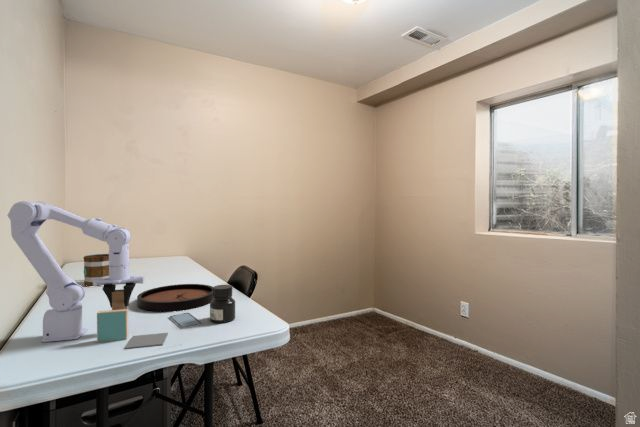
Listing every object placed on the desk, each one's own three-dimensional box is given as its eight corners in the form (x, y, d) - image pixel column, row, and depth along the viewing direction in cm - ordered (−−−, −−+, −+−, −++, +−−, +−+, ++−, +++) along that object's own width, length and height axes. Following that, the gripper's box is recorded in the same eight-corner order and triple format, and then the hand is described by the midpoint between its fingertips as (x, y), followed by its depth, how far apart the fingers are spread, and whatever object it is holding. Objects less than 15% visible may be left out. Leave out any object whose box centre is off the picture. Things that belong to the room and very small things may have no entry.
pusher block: (115, 310, 109) (115, 289, 109) (126, 309, 110) (126, 289, 110) (112, 314, 106) (111, 292, 106) (123, 313, 107) (123, 291, 107)
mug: (117, 283, 174) (117, 255, 174) (86, 288, 165) (86, 258, 164) (107, 278, 188) (107, 252, 188) (78, 282, 178) (78, 254, 178)
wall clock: (145, 286, 154) (215, 281, 164) (145, 295, 154) (215, 290, 164) (128, 305, 124) (215, 298, 134) (128, 316, 124) (215, 308, 134)
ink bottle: (206, 318, 121) (206, 285, 121) (229, 313, 127) (229, 282, 127) (215, 325, 114) (215, 291, 113) (239, 320, 119) (239, 287, 119)
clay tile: (96, 342, 100) (96, 313, 99) (99, 339, 102) (99, 311, 101) (126, 339, 102) (126, 310, 102) (128, 337, 104) (128, 308, 104)
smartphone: (181, 328, 110) (168, 316, 122) (181, 330, 111) (168, 318, 122) (203, 323, 115) (188, 312, 127) (203, 325, 115) (188, 314, 127)
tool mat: (124, 349, 95) (124, 347, 95) (133, 337, 104) (133, 335, 104) (162, 345, 98) (162, 343, 98) (167, 333, 106) (167, 332, 106)
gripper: (88, 268, 102) (89, 311, 102) (140, 266, 106) (141, 308, 106) (97, 264, 109) (98, 305, 109) (145, 262, 113) (146, 301, 113)
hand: (119, 306), depth 108 cm, fingers closed on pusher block, 3 cm apart
